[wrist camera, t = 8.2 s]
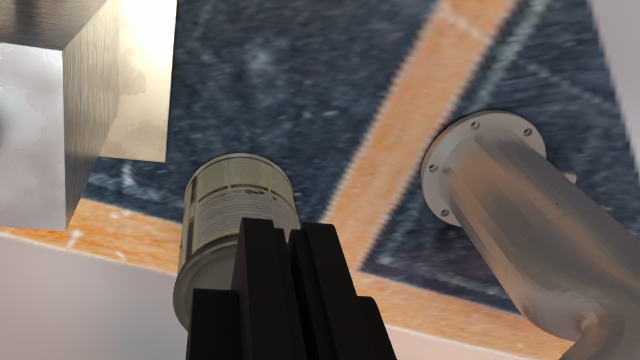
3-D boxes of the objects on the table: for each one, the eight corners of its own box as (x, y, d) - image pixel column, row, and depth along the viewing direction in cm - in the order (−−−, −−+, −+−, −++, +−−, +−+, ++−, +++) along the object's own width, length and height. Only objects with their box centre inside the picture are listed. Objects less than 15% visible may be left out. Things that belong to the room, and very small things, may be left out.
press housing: (182, -64, 40) (156, -24, 24) (166, 154, 49) (139, 292, 33) (-98, -117, 36) (-347, -111, 20) (-64, 131, 44) (-223, 275, 28)
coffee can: (308, 223, 54) (333, 324, 42) (210, 258, 55) (207, 368, 42) (272, 135, 49) (289, 220, 37) (164, 174, 49) (146, 271, 37)
